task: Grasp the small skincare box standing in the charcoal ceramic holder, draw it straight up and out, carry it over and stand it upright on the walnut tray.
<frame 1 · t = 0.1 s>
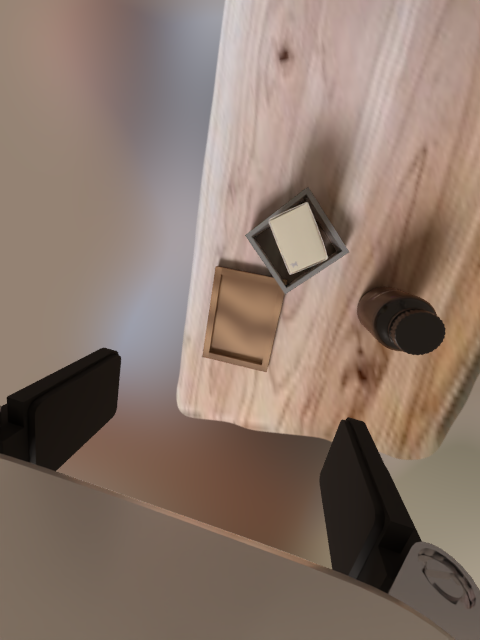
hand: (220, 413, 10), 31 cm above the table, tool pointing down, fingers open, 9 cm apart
supplement bottle: (379, 308, 38), on the table
skincare box: (294, 244, 38), resting in holder
tray: (243, 319, 42), on the table
holder: (294, 244, 37), on the table
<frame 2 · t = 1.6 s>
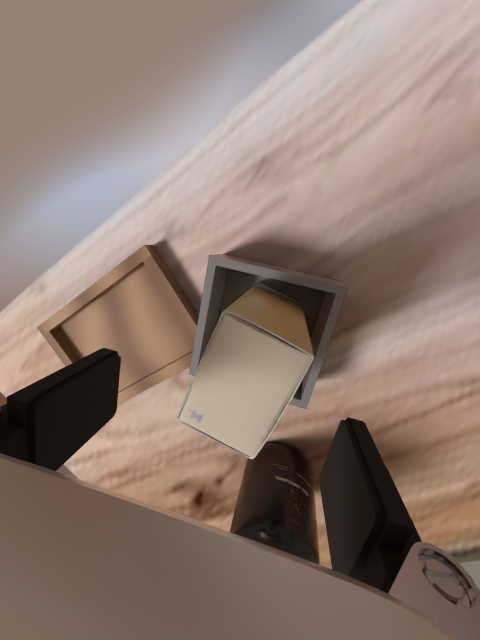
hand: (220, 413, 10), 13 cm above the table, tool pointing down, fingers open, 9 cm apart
supplement bottle: (278, 465, 27), on the table
skincare box: (265, 320, 23), resting in holder
tray: (128, 334, 26), on the table
holder: (265, 321, 23), on the table
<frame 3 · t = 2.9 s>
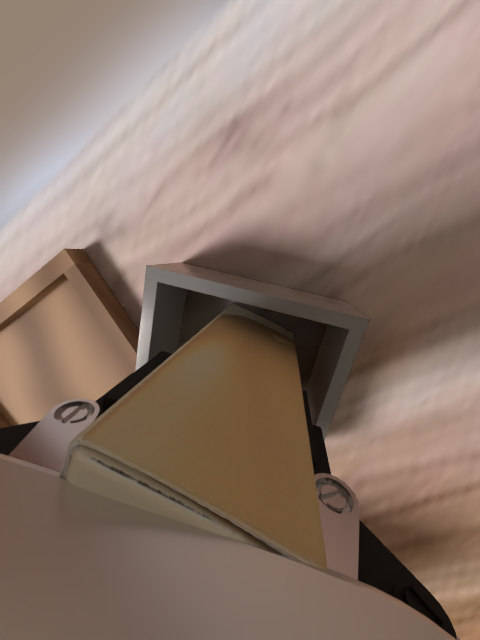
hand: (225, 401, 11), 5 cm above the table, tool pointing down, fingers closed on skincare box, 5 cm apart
skincare box: (243, 356, 16), resting in holder, touching gripper
tray: (58, 371, 19), on the table
holder: (243, 357, 16), on the table
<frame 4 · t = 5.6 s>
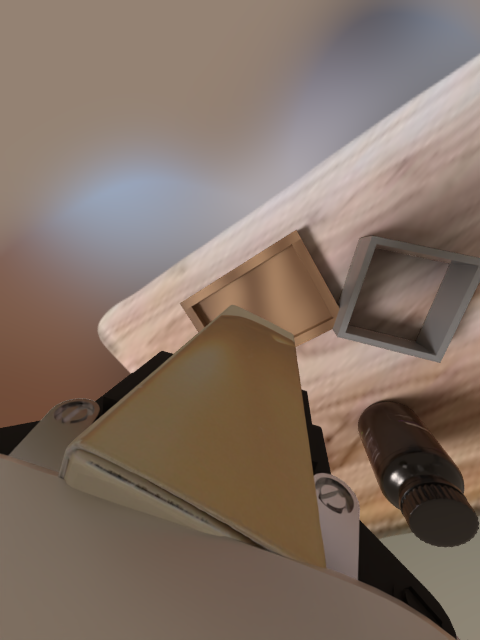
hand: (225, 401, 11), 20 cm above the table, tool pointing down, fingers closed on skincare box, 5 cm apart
supplement bottle: (385, 423, 31), on the table
skincare box: (243, 356, 16), point 14 cm above the table, touching gripper
tray: (260, 309, 30), on the table
holder: (390, 294, 27), on the table
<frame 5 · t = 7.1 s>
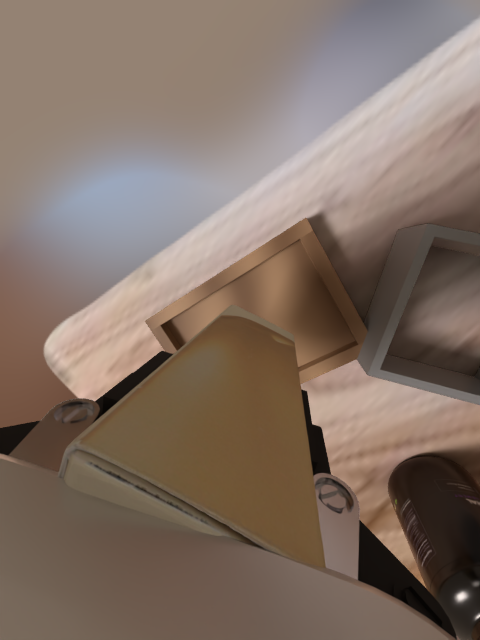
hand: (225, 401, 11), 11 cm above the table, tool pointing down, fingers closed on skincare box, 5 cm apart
supplement bottle: (425, 482, 23), on the table
skincare box: (243, 357, 16), point 6 cm above the table, touching gripper
tray: (255, 329, 22), on the table
holder: (440, 311, 19), on the table
when the fingers open (7 cm above the table, at t = 8.3 s): skincare box drops 1 cm, resting on tray.
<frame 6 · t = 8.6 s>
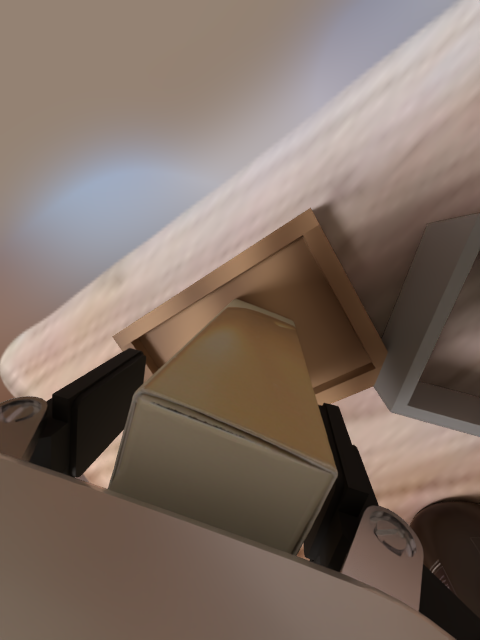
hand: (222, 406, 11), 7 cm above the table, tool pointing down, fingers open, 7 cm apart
supplement bottle: (453, 530, 19), on the table
skincare box: (249, 346, 17), resting on tray
tray: (247, 346, 18), on the table
holder: (479, 326, 15), on the table
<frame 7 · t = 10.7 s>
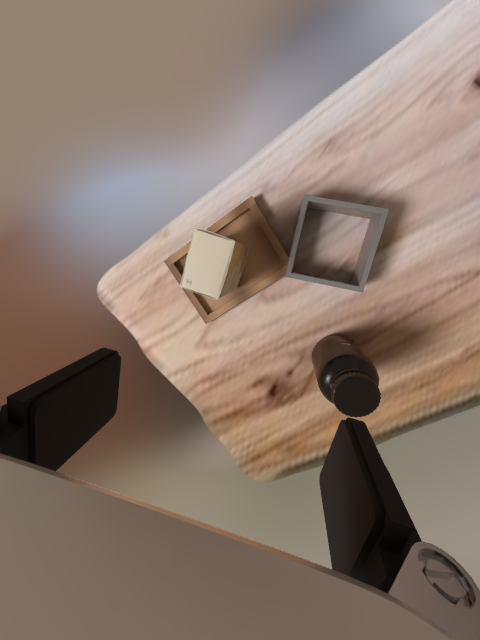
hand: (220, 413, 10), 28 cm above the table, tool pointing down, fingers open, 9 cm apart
supplement bottle: (333, 355, 38), on the table
skincare box: (230, 263, 37), resting on tray
tray: (229, 264, 37), on the table
holder: (328, 246, 35), on the table
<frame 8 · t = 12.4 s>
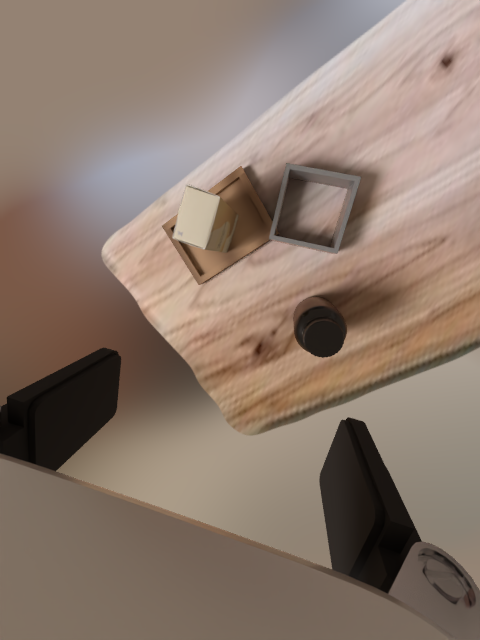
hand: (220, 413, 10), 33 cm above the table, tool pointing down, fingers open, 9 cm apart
supplement bottle: (313, 316, 42), on the table
skincare box: (221, 229, 41), resting on tray
tray: (220, 230, 41), on the table
holder: (309, 213, 38), on the table
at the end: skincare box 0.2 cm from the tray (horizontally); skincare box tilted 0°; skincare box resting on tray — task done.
